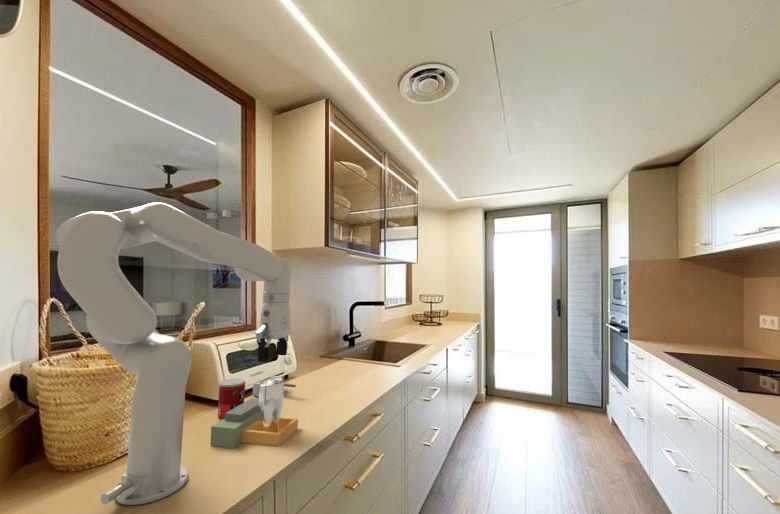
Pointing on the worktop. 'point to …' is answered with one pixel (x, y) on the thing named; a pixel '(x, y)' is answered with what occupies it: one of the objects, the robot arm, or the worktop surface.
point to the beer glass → (270, 404)
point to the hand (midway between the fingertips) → (272, 358)
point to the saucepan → (256, 386)
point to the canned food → (230, 395)
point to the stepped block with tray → (249, 428)
